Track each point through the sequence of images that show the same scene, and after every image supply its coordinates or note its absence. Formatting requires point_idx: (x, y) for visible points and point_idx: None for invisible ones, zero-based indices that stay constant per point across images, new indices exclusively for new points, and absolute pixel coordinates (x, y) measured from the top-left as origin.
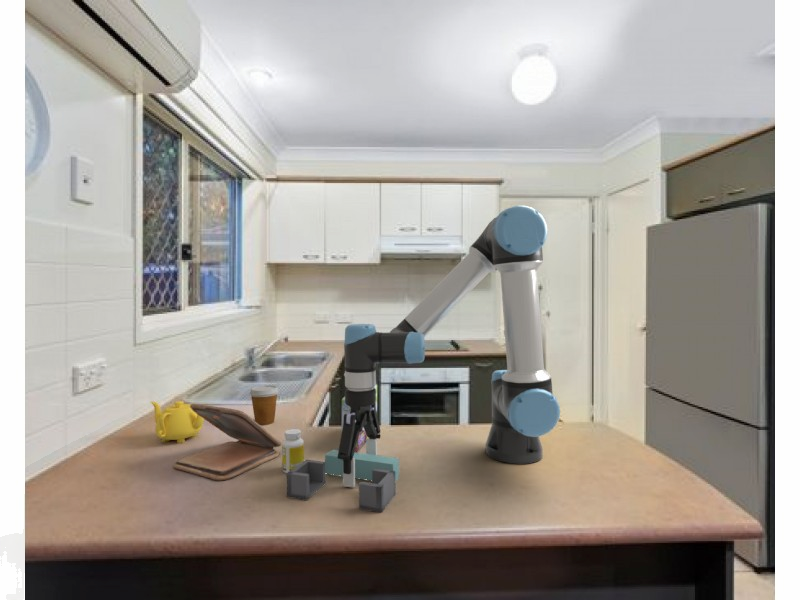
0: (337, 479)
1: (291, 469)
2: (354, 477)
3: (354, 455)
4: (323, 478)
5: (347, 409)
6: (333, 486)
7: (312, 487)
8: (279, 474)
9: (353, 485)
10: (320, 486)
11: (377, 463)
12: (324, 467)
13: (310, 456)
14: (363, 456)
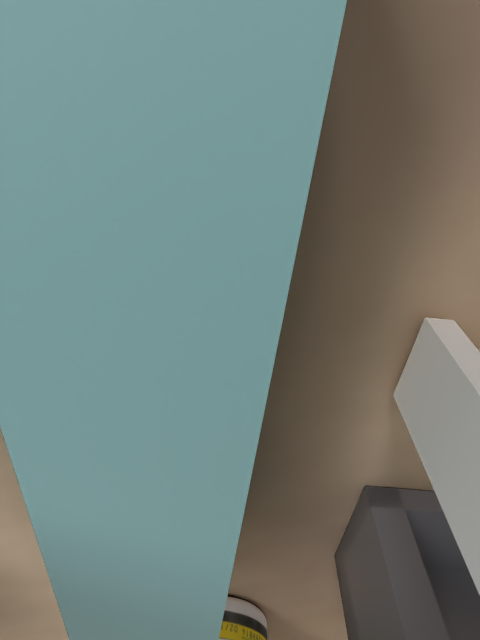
0: (285, 450)
1: (266, 638)
2: (475, 373)
3: (133, 540)
4: (407, 534)
5: None
6: (400, 442)
7: None
8: (276, 632)
9: (461, 332)
10: (434, 501)
11: (301, 187)
12: (414, 618)
13: (38, 605)
14: (120, 463)
